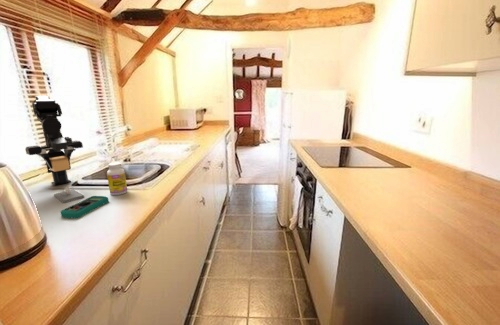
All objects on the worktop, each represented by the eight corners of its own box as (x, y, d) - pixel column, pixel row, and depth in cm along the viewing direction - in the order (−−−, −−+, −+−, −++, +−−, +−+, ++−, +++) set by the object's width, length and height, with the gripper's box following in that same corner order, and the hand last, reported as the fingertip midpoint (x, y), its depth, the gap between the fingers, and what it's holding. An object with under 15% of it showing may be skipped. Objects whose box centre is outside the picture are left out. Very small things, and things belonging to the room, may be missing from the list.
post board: (54, 196, 106) (52, 187, 105) (73, 191, 112) (71, 182, 111) (64, 202, 99) (61, 193, 98) (84, 197, 104) (82, 188, 103)
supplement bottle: (112, 197, 104) (107, 166, 101) (108, 192, 109) (103, 163, 106) (129, 192, 108) (125, 163, 105) (125, 189, 113) (121, 160, 110)
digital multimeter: (59, 218, 87) (57, 210, 86) (94, 201, 101) (92, 194, 100) (77, 220, 85) (75, 212, 85) (110, 202, 99) (108, 195, 99)
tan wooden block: (50, 169, 109) (47, 158, 108) (65, 166, 114) (63, 155, 112) (54, 171, 106) (52, 160, 105) (70, 168, 110) (67, 157, 109)
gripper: (28, 135, 94) (37, 175, 98) (84, 129, 108) (91, 164, 112) (21, 133, 101) (30, 170, 104) (74, 128, 115) (81, 161, 119)
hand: (59, 166), depth 110 cm, fingers closed on tan wooden block, 6 cm apart
